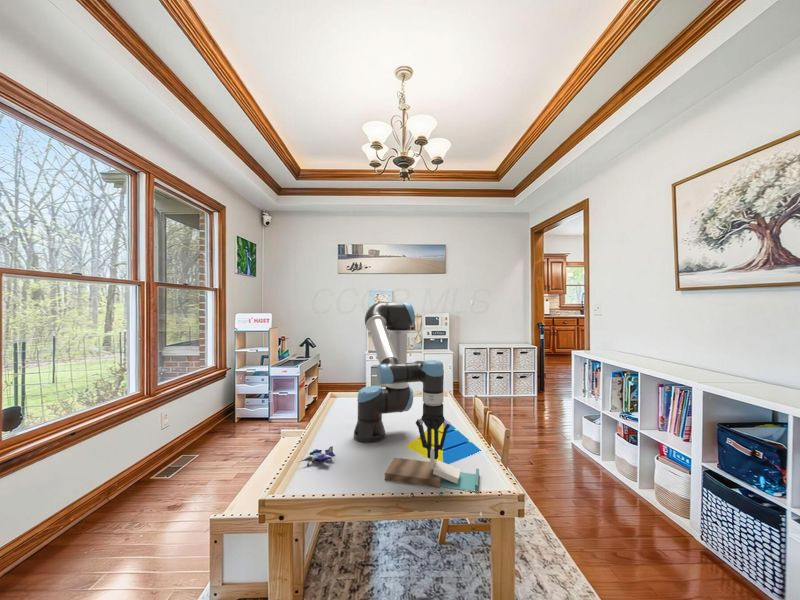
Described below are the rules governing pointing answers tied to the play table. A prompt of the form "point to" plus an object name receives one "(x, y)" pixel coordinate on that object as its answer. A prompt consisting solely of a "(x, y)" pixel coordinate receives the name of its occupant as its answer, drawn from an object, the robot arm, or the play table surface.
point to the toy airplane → (320, 456)
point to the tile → (446, 471)
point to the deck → (412, 472)
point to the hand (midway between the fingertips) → (432, 466)
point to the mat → (463, 482)
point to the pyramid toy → (447, 446)
